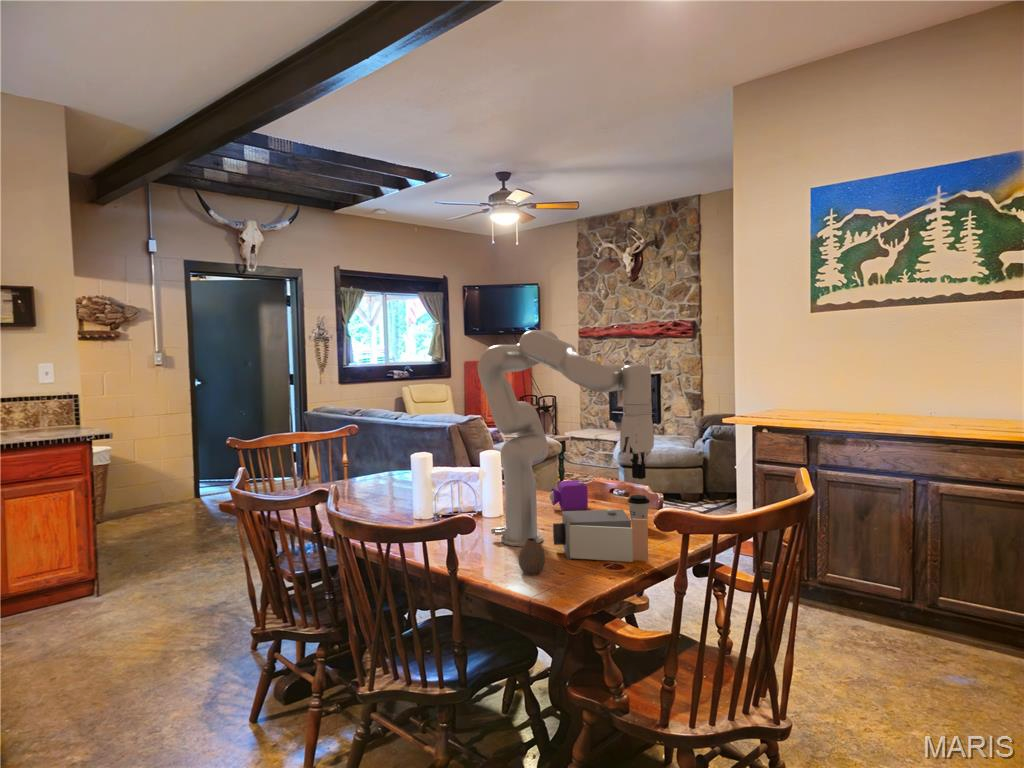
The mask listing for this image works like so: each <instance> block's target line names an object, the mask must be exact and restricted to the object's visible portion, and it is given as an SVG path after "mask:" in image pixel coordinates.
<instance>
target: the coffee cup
mask: <svg viewBox="0 0 1024 768" xmlns="http://www.w3.org/2000/svg"><path fill="white" fill-rule="evenodd" d="M627 502H628V507H629V508H628V509H629V516H630V517H629V518H630V520H631V525H632V519H648V516H649V506H650V503H651V501H650V499H649V498H647V496H646V495H643V494H633V495H630V496H629V498H628V500H627Z"/></svg>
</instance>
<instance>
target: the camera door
mask: <svg viewBox="0 0 1024 768" xmlns="http://www.w3.org/2000/svg"><path fill="white" fill-rule="evenodd" d="M648 521H649V520H648V518H647V519H632V524H631V528H627V527H605V526H583V525H570V523H566V554H565V558H566V557H567V558H566V560H567V561H570V560H572V559H579V560H597V561H614V562H615V561H616V562H629V563H630V562H631V563H633V562H634V561H645V562H648V561H649V534H648V533H649V527H648V523H649V522H648Z"/></svg>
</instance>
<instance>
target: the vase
mask: <svg viewBox="0 0 1024 768" xmlns="http://www.w3.org/2000/svg"><path fill="white" fill-rule="evenodd" d="M545 564H546V556H545V552H544V550H543V548H542V547H541V546H540V543H537V541H536V539H535V538H528V539H527V540H526V542H525V544H524V545H523V546H521V548H520V550H519V552H518V565H519V568H520V570H521V571H522V572H523V574H524V575H525V574H526V575H528V576H536V575H538V574H540V573H542V570H544V568H545Z"/></svg>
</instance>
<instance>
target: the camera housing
mask: <svg viewBox="0 0 1024 768" xmlns="http://www.w3.org/2000/svg"><path fill="white" fill-rule="evenodd" d="M566 523H570V525H583V526H605V527H627V528H632V524H631V518H630V517H629V516H628V515H627V513H626V512H625V510H624V509H623V508H621V509H615V508H609V509H593V510H592V509H590V510H587V509H586V510H575V511H565V510H562V511H561V522H558V523H553V524H552V537H553V538H552V539H553V540H552V541H553V545H554V546H560V545H561V546H562V547H563V550H564V554H565V555H566ZM565 558H566V559H567V557H566V556H565Z"/></svg>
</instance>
